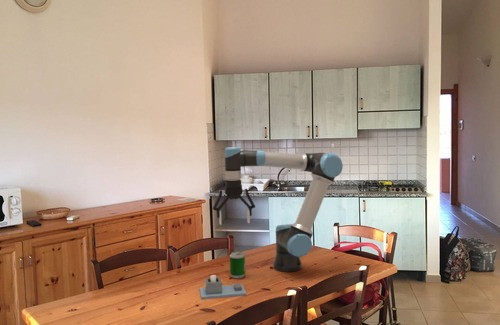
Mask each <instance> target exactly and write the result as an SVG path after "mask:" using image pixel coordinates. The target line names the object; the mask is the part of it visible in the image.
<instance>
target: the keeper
mask: <svg viewBox="0 0 500 325" xmlns="http://www.w3.org/2000/svg"><path fill="white" fill-rule="evenodd" d="M216 277H217V275H216V274H211V275H210V278H211V282H216ZM199 294H200V299H201V300H209V299H218V298H219V299H220V298H233V297H241V296H242V297H243V296H247V291H246V290H245V287H244V285H243V284H242V283H233V284H229V285H227V284H226V285H222V293H219V294H208V295H206V290H205V286H204V287H199Z"/></svg>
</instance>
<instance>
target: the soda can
mask: <svg viewBox="0 0 500 325" xmlns="http://www.w3.org/2000/svg"><path fill="white" fill-rule="evenodd" d="M229 254H230V255H229V270H230V271H229V273H230V274H229V275H230V277H231V278H232V279H237V280H238V279H242V278H244V277H245V276H246V257H245V256H246V255H245V254H244V252H242V251H233V252H231V253H229Z"/></svg>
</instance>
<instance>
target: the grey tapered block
mask: <svg viewBox="0 0 500 325" xmlns="http://www.w3.org/2000/svg"><path fill="white" fill-rule="evenodd" d="M204 284H205V285H204V287H205V290H206V295H208V294H219V293H222V286H223V282H222V278H221V276H218V277H217V276H216V282H211V277H205V278H204Z"/></svg>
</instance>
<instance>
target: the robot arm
mask: <svg viewBox="0 0 500 325" xmlns="http://www.w3.org/2000/svg"><path fill="white" fill-rule="evenodd" d="M224 167H225V168H224V170H225V171H224V173H225V174H224V175H225V177H224V178H225V179H226V180H225V190H222V189H219V190H218V195H217V198H216V200H215V201H214V204H213V207H212V209H213V211H216V218H218V220H219V221H218V222H219V225H220V226H222V210H221V209H222V208H223V207H224V206H225V204H226V203H227V202H228V200H238V199H240V201H241V202H242V203H244V205H245V206H246V207H247V208H246V217H247V218H246V221H247V224H251V219H250V218H251V216H252V215H253V214H252V211H253V209H255V208H256V205H255V203H254V201H253V199H252V197H251V195H250V193H249V189H247V188H244V189H243V188H242V180H241V179H242V167H243V168H244V167H273V168H283V169H284V168H285V169H295V170H300V171H301V172H306V173H307V172H308V173H311V177H312V179H311V182H310V184H309V188H308V189H307V192H306V194H305V198H304V199H303V203H302V205H301V208H300V210H299V212H298V215H297V217H296V220H295V222H293V223H292V224H291V223H289V224H287V223H286V224H278V225H277V226H276V227H275V252H276V253H275V256H274V260H273V264H272V266H273V267H272V268H273V270H276V271H278V272H285V273H287V272H289V273H290V272H298V271H299V270H301V269H302V268H303V266H302V265H303V263H302V261H301V257H304V256H306V255H308V254H309V253H310V251H311V250H312V246H313V241H312V236H313V230H312V228H313V226H314V223H315V221H316V218H317V216H318V213H319V211H320V208H321V205H322V203H323V200H324V198H325V196H326V192H327V190H328V187H329V186H330V185H332V184H333V183H334V181H335V178H336V177H338V176H340V174H341V173H342V171H343V162H342V159H341V158H340V157H339V156H338V155H337V154H335V153H331V152H312V153H311V152H310V153H309V152H303V153H301V154H297V153H287V152H286V153H284V152H275V151H273V152H272V151H271V152H270V151H263V150H259V149H257V150H248V149H242V150H241V147H239V146H237V147H236V146H231V147H228V146H227V147H226V148H224ZM224 194H225V195H226V196H225V198H224V199H223V200H222V201H221V199H222V196H223V195H224ZM242 194H244V195H245V196H246V198H247V200H248V201H249V203H250V204H249V203H248V202H247V201H246V200H245V199H244V197H243V196H242ZM220 201H221V202H220ZM219 203H220V204H219Z"/></svg>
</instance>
